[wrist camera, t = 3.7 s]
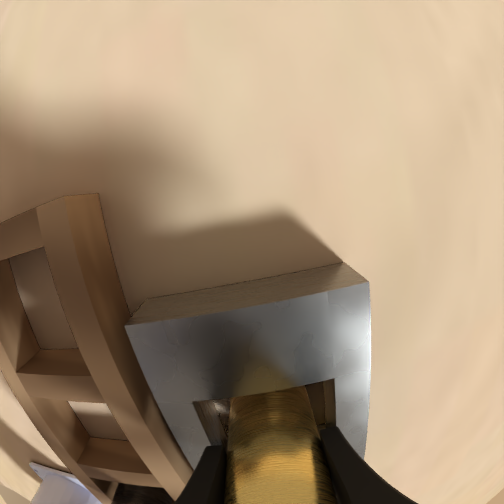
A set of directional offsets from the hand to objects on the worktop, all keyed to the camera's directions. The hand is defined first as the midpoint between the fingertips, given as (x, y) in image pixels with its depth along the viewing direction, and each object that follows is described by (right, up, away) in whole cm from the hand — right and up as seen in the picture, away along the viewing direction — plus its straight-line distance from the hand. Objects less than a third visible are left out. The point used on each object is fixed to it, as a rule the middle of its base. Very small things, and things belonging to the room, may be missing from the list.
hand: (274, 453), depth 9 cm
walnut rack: (-9, -1, +4) cm, 10 cm away
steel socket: (0, +1, +3) cm, 3 cm away
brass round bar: (0, +1, +3) cm, 3 cm away
